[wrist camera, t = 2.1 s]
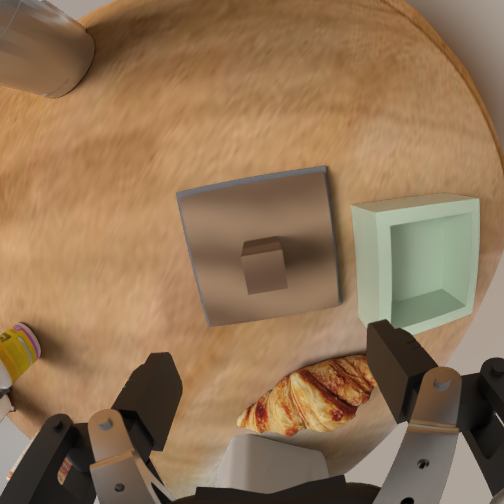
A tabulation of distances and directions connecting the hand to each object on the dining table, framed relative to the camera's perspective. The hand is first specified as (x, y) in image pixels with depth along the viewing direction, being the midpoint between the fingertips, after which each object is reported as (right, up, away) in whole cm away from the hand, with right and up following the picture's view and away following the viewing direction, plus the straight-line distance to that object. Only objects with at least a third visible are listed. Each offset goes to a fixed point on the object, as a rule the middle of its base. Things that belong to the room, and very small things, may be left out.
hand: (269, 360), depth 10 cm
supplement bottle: (-37, -10, +21) cm, 43 cm away
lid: (0, +4, +16) cm, 16 cm away
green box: (+16, +4, +16) cm, 23 cm away
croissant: (+7, -12, +21) cm, 25 cm away
